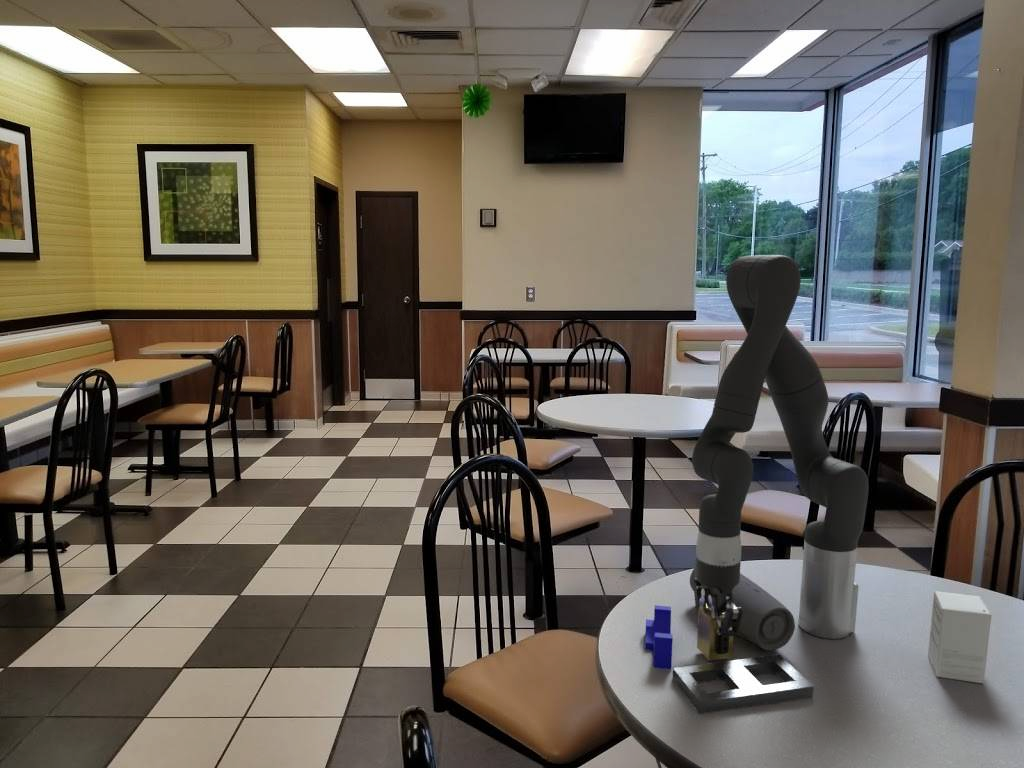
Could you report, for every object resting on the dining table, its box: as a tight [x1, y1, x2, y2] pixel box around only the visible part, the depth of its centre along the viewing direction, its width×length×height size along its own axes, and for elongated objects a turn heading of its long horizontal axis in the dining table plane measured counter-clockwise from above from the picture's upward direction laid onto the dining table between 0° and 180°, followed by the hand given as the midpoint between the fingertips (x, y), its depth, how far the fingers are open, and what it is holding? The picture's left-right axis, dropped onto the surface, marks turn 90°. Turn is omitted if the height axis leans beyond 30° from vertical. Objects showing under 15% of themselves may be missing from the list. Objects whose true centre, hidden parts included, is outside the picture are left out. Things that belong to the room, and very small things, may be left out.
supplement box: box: [927, 590, 992, 684], centre depth 129 cm, size 7×7×13 cm
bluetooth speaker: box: [689, 565, 796, 651], centre depth 144 cm, size 23×9×10 cm, turn 17°
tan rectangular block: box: [696, 606, 734, 661], centre depth 133 cm, size 4×4×8 cm
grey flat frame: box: [671, 654, 815, 715], centre depth 125 cm, size 20×10×2 cm, turn 103°
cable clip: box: [644, 604, 674, 670], centre depth 136 cm, size 12×4×6 cm, turn 170°
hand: (714, 645), depth 134 cm, fingers closed on tan rectangular block, 4 cm apart
